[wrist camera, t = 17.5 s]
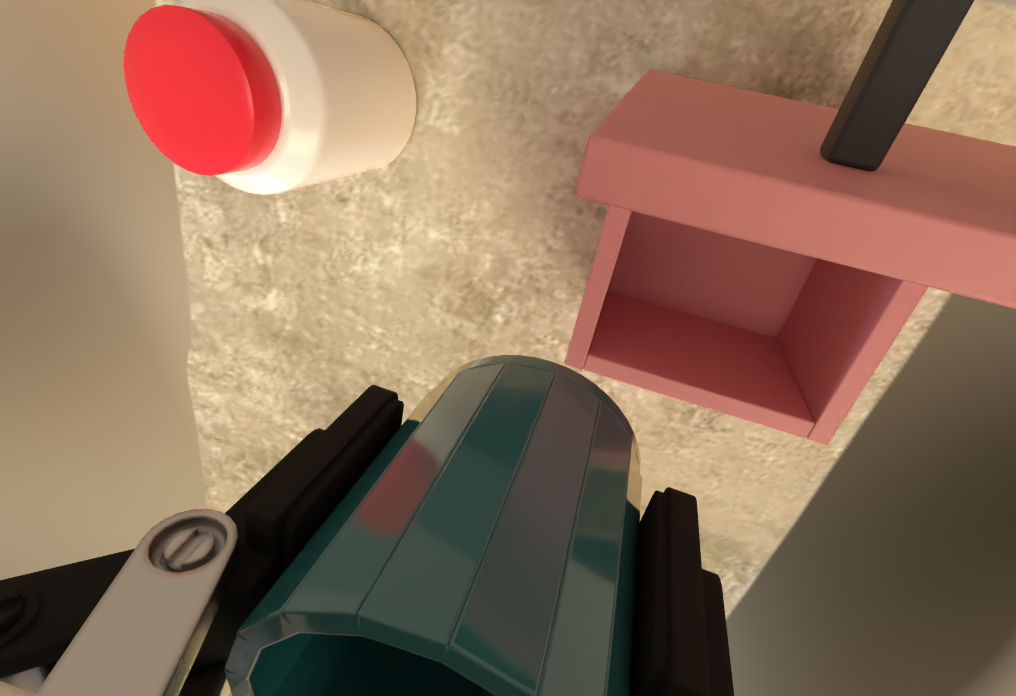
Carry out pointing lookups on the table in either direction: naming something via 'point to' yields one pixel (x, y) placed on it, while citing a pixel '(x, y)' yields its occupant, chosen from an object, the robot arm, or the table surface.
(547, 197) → the table surface
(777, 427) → the pink box
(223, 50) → the pill bottle
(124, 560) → the robot arm
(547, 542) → the cup
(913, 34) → the lid
